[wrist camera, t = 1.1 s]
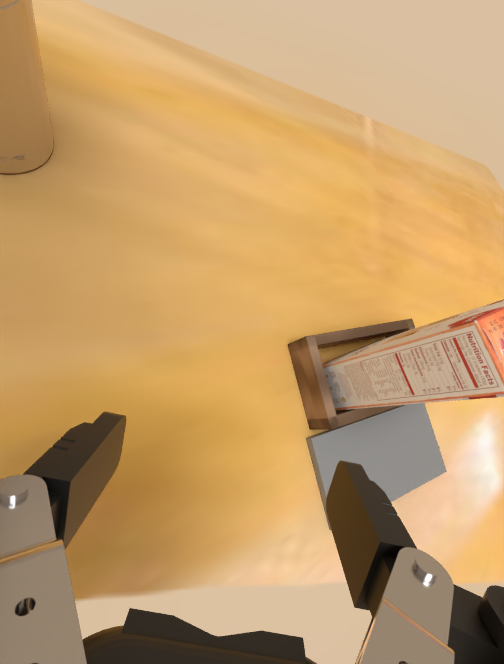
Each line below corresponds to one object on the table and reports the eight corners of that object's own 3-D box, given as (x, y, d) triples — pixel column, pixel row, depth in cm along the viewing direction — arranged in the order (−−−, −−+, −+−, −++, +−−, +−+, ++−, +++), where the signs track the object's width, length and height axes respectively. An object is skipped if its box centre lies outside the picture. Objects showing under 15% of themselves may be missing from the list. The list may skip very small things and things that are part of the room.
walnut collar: (287, 344, 40) (305, 336, 36) (389, 326, 48) (412, 318, 45) (309, 429, 38) (331, 429, 34) (411, 395, 46) (436, 392, 43)
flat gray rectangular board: (306, 438, 37) (311, 438, 36) (416, 399, 46) (422, 398, 46) (329, 529, 36) (335, 532, 35) (439, 470, 45) (446, 471, 44)
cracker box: (379, 337, 47) (558, 278, 28) (395, 376, 46) (590, 342, 28) (306, 366, 40) (479, 315, 22) (324, 413, 39) (518, 400, 21)
